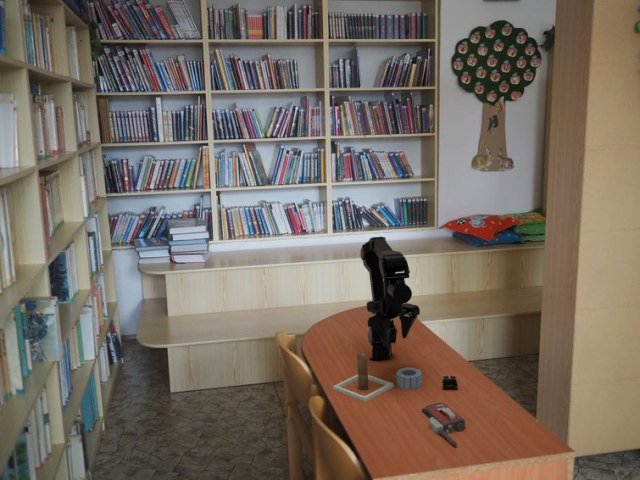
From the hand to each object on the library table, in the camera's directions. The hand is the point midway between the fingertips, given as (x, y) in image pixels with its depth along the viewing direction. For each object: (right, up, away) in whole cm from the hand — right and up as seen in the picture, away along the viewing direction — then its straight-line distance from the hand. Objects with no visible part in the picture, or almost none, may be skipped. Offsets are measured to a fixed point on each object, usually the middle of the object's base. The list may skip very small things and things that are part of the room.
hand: (394, 342), depth 202 cm
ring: (+4, -13, -2) cm, 14 cm away
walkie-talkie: (+11, -19, -28) cm, 35 cm away
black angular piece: (+16, -14, -6) cm, 22 cm away
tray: (-10, -14, -3) cm, 18 cm away
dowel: (-10, -13, -4) cm, 17 cm away
